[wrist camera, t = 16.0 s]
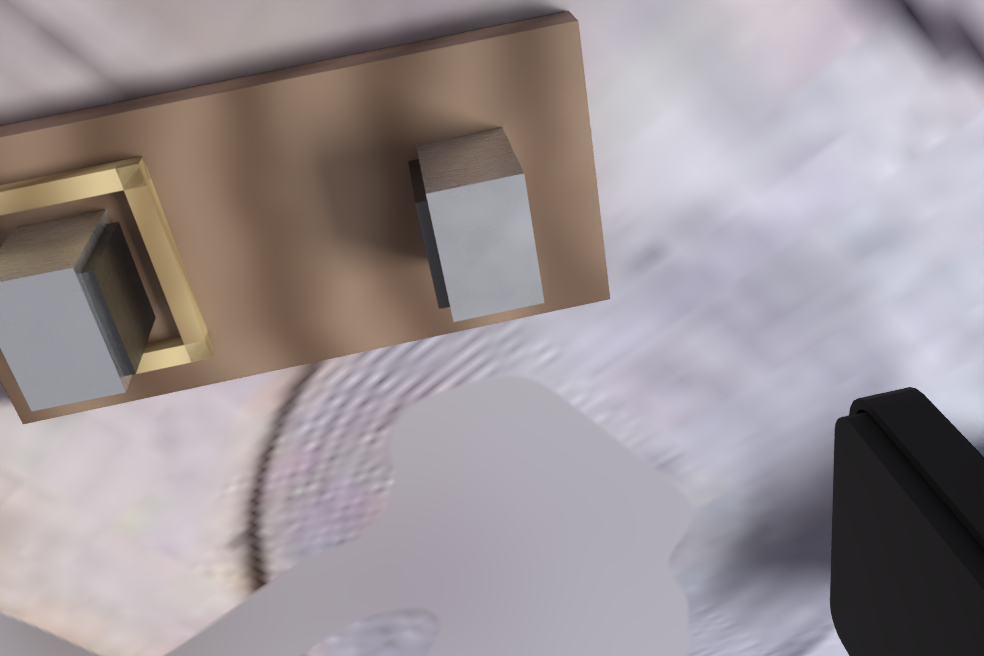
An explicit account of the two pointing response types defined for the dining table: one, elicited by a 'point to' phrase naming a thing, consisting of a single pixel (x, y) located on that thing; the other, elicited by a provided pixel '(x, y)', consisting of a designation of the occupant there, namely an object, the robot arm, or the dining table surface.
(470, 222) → the grey square block
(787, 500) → the dining table surface
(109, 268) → the grey thick square block
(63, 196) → the brown flat board
